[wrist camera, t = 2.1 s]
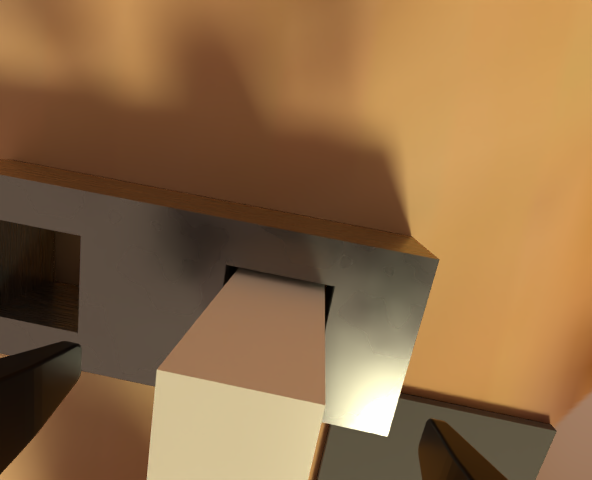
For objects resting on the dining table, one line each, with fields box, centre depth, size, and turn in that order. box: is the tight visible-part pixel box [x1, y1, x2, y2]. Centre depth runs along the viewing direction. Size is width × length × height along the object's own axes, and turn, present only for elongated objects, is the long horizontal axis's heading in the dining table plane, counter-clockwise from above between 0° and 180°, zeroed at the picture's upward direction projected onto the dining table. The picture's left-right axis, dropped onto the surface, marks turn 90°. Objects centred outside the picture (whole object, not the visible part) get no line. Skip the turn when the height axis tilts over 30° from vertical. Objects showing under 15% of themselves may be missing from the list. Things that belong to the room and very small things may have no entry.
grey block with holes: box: [0, 159, 439, 436], centre depth 14 cm, size 7×18×4 cm, turn 80°
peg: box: [147, 267, 325, 480], centre depth 11 cm, size 3×3×9 cm
